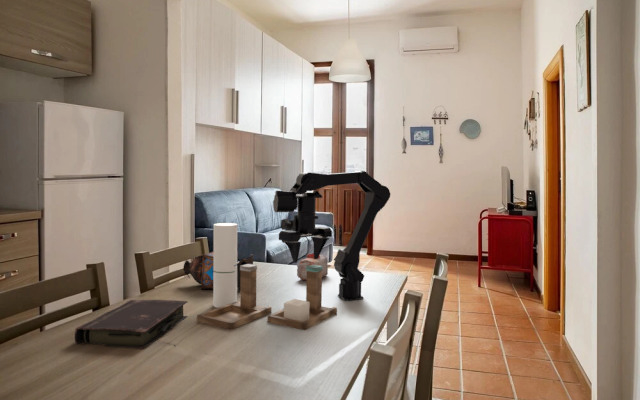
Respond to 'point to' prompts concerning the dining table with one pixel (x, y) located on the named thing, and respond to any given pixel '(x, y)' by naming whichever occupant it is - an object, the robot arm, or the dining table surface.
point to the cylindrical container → (225, 264)
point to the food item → (311, 261)
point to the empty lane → (238, 304)
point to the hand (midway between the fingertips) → (305, 260)
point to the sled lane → (312, 296)
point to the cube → (296, 310)
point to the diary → (132, 324)
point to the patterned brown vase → (209, 269)
